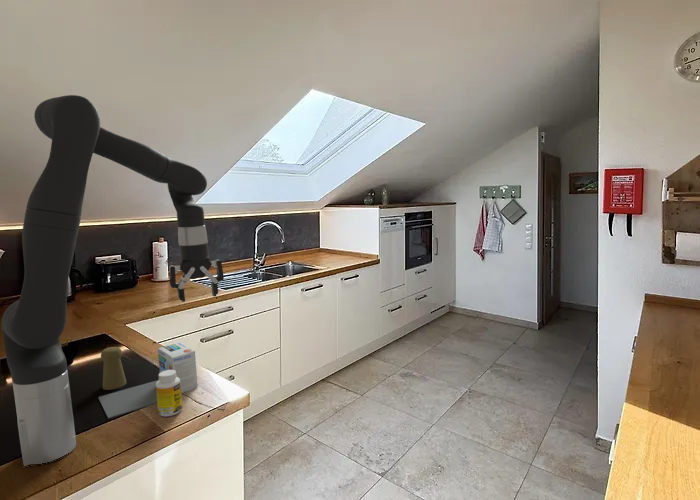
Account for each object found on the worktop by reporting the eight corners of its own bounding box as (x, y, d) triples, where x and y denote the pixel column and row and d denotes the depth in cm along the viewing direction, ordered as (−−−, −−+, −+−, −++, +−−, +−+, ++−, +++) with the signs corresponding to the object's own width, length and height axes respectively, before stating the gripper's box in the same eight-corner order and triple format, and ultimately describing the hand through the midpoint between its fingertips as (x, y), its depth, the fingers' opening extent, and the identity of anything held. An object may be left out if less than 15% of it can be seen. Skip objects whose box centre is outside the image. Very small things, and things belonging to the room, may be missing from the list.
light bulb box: (159, 383, 120) (156, 347, 119) (183, 376, 125) (180, 341, 124) (174, 395, 113) (171, 357, 111) (198, 387, 118) (196, 350, 116)
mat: (108, 418, 102) (108, 417, 102) (98, 398, 112) (98, 397, 112) (172, 398, 111) (172, 397, 111) (157, 381, 122) (157, 380, 122)
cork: (99, 391, 116) (95, 353, 115) (105, 382, 122) (101, 346, 121) (123, 387, 118) (120, 350, 117) (128, 379, 124) (125, 343, 122)
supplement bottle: (177, 417, 102) (174, 377, 100) (154, 418, 101) (150, 378, 100) (185, 405, 107) (182, 367, 106) (163, 406, 107) (160, 368, 106)
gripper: (167, 246, 109) (174, 306, 112) (222, 240, 117) (227, 296, 119) (163, 243, 116) (170, 300, 118) (216, 238, 123) (221, 291, 126)
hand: (199, 298), depth 119 cm, fingers open, 8 cm apart
